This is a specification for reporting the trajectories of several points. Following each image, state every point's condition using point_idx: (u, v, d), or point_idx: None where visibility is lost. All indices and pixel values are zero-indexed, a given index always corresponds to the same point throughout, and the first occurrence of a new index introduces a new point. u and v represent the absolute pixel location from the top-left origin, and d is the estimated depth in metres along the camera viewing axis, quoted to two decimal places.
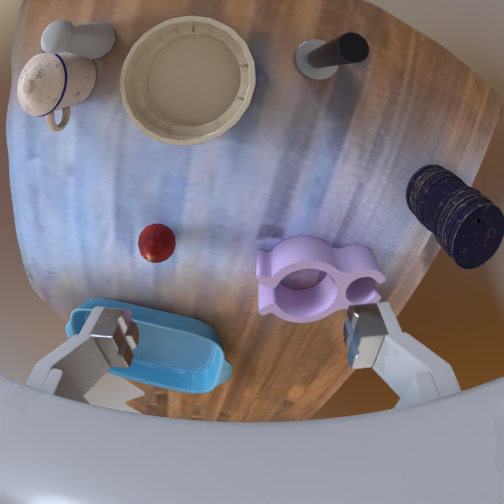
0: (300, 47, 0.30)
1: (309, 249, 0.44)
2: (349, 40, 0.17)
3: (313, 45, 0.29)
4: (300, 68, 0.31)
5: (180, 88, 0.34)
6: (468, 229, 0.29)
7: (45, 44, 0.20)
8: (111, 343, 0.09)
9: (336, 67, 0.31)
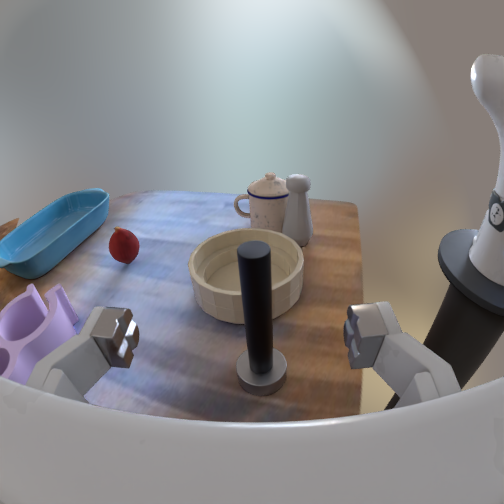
0: (274, 349, 0.33)
1: (59, 337, 0.32)
2: (260, 246, 0.23)
3: (277, 360, 0.32)
4: None
5: None
6: None
7: (293, 175, 0.50)
8: (111, 343, 0.09)
9: (251, 382, 0.29)
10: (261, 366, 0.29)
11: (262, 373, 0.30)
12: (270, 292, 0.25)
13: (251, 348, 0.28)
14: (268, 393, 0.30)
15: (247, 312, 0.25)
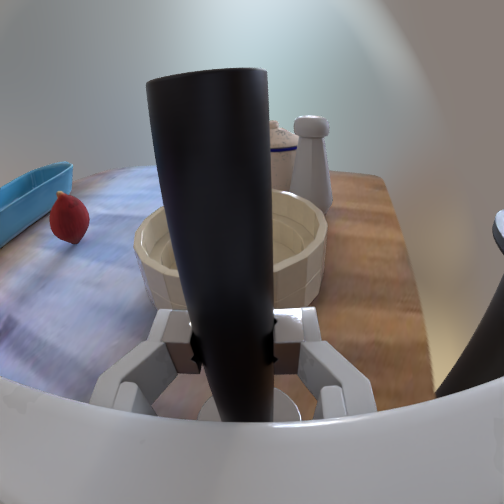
0: (276, 390, 0.15)
1: None
2: None
3: (282, 414, 0.14)
4: None
5: None
6: None
7: None
8: (186, 348, 0.09)
9: None
10: None
11: None
12: (268, 243, 0.07)
13: (219, 402, 0.11)
14: None
15: (193, 313, 0.08)
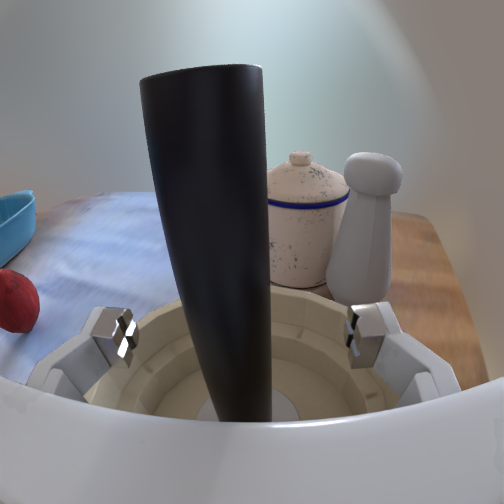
0: (275, 391, 0.15)
1: None
2: None
3: (281, 416, 0.14)
4: None
5: None
6: None
7: (362, 153, 0.20)
8: (111, 343, 0.09)
9: None
10: None
11: None
12: (264, 243, 0.07)
13: (217, 403, 0.10)
14: None
15: (189, 314, 0.08)
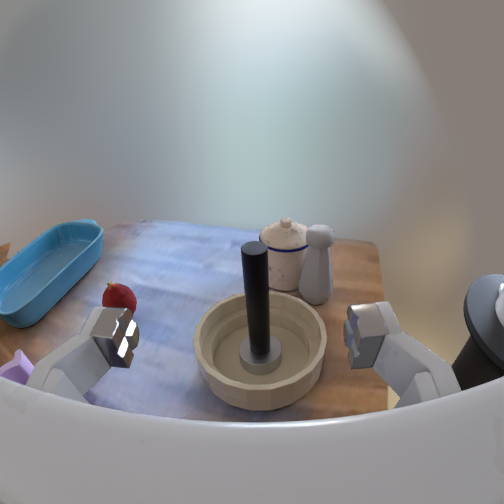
0: (271, 335, 0.39)
1: None
2: (260, 245, 0.29)
3: (274, 344, 0.38)
4: None
5: None
6: None
7: (314, 226, 0.43)
8: (111, 343, 0.09)
9: (251, 362, 0.35)
10: (260, 348, 0.35)
11: (261, 354, 0.36)
12: (267, 283, 0.31)
13: (251, 331, 0.34)
14: (266, 372, 0.36)
15: (248, 299, 0.31)
